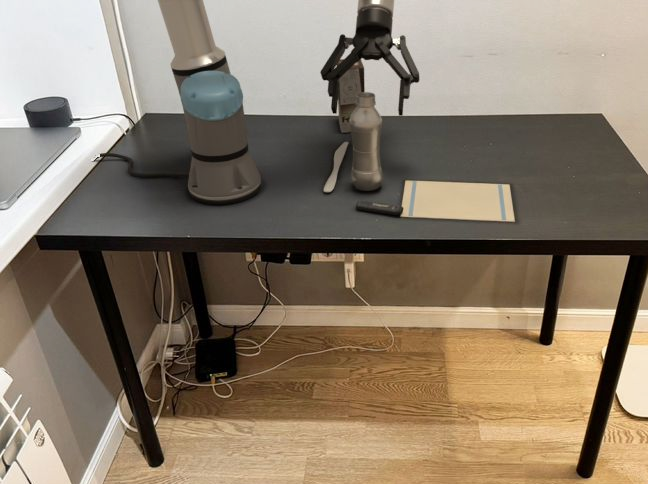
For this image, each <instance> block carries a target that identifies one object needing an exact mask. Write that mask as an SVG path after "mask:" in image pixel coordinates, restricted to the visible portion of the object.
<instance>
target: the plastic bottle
mask: <svg viewBox="0 0 648 484" xmlns="http://www.w3.org/2000/svg"><path fill="white" fill-rule="evenodd" d="M376 103H377V101H376V94H375V93H373V92H371V91H370V92H368V91H365V92H362V93H358V94H357V95H356V105H357V108H356V109H355V110H354V112H353V113H352V115H351V117H350V121H349V123H350V129H351V132H350V135H351V141H352V142H351V143H352V166H351V172H350V178H351V184H352V185H353V186H354V188H355V189H357V190H359V191H364V192H370V191H375V190H377V189H379V188H380V187H381V185H382V184H383V178H384V175H383V174H384V173H383V168H382V165H381V155H380V150H381V149H380V146H381V134H382V127H383V119H382V116H381V114H380V113H379V111H378V109H377V108H376V107H375V106H376Z"/></svg>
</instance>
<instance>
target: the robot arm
mask: <svg viewBox="0 0 648 484" xmlns="http://www.w3.org/2000/svg"><path fill="white" fill-rule="evenodd" d="M157 3H158V7H159V9H160V12H161V15H162V18H163V21H164V25H165V28H166V30H167V34H168V37H169V41H170V44H171V47H172V50H173V54H174V57H173V59H172V60H171V62H170V63H169V64H170V68H171V72H172V75H173V77H174V82H175V84H176V87H177V90H178V94H179V98H180V101H181V105H182V110H183V115H184V120H185V125H186V131H187V137H188V143H189V149H190V153H191V162H190V168H189V172H167V171H166V172H165V171H164V172H150V173H149V172H148V173H147V172H145V173H144V172H136V171H134V170H133V166H134V161H133V159H132V158H131V157H129V156H127V155H123V154H120V153H112V152H103V153H102V152H101V153H99V154H100V157H97V158H96V159H95V160H94V161H93V162H95V161H97V160H98V159H99V158H105V157H111V158H117V159H122V160H125V161H128V166H127V171H128V173H129V174H130V175H131V176H133V177H138V178H154V177H155V178H156V177H157V178H159V177H184V178H185V177H187V178H188V180H187V188H188V194H189V196H190V198H192V199H193V200H194V201H196V202H199V203H202V204H206V205H229V204H235V203H239V202H242V201H245V200H248V199H250V198H252V197H254V196H256V195H257V194H258V193H259V192H260V191H261V188H262V178H261V175H260V172H259V170H258V168H257V165H256V164H255V162H254V159H253V158H252V156H251V155H252V154H251V153H250V149H249V144H248V142H249V141H248V135H247V126H246V118H245V111H244V94H243V90H242V87H241V83H240V81H239V80H238V79H237V77H235V76H234V75H233V74H231V70H230V66H229V62H228V59H227V56H226V52H225V51H224V50H223V49H221V48H220V47H218V46H217V45H216V42H215V39H214V35H213V32H212V27H211V25H210V21H209V17H208V13H207V9H206V6H205V2H204V0H157ZM394 8H395V0H357V11H356V14H357V15H356V23H355V31H354V32H355V34H354V35H353V37H348V36H347V37H346V35H345V34H344V33H342V34H340V35H339V38H338V41H337V42H338V43H337V45H336V46H335V48H334V49H333V51H332V52H331V54H330V55H329V57H328V59H327V61H326V62H325V64H324V65H323V66H322V68H321V69H320V72H319V73H320V76H321V79H322V80H323V81H327V82H328V83H327V94H328V97H330V98H331V105H330V109H331V112H332V114H333V115H334V114H335V115H337V113H338V93H339V82H338V80H339V79H340V78H341V77H342V76H343V75H344V74H345V73H346V72H347V71H348V70H349V69H350V68H351V67H352V66H353V65H354V64H355V63H356V62H359V61H360V60H361V61H362V59H363V60H364V61H370V60H373V61H380V60H382V59H383V61H384V62H385V63H386V64H388V65H389V67H390V68H391V69H392V71H394V73H395V74H396V75H397V76H398V78H399V79H400V81H399V95H398V108H397V111H398V116H401V117H403V115H404V101H405V100H409V98H410V94H411V92H410V91H411V85H412V84H414V83H416V84H417V83H420V72H419V69H418V68H417V65H416V64H415V61H414V60H413V57H412V55H411V53H410V51H409V48H408V46H407V39H406V36H405V35H400V36H399V38H393V37H392V31H393V18H394ZM351 46H353V48H352V49H351V51H350V52H349V54H348V55H347V56H346V57H345V58H343V56H344V54H345V52H346V50H348V49H349V48H350V47H351ZM393 46H394V47H395V48H396V50H398V51H400V54H401V57H402V59H403V61H404V63H405V65H406V68H407V70H408V72H407V70H406V69H405V68H404V67H403V65H402V64H401V63H400V61H398V60H397V58H396V57H395V56H394V55H393V53H392V51H391V49H392V48H393ZM342 58H343V59H344V60H343V61H342V62H341V63H340V64H339V65H338V66H337V63H338V62H339V60H340V59H342ZM109 256H110V259H111V262H112V266H113V267H115V265H114V259H113V257H112V254H110V255H109ZM113 270H114V271H116V270H115V268H114V269H113Z"/></svg>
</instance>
